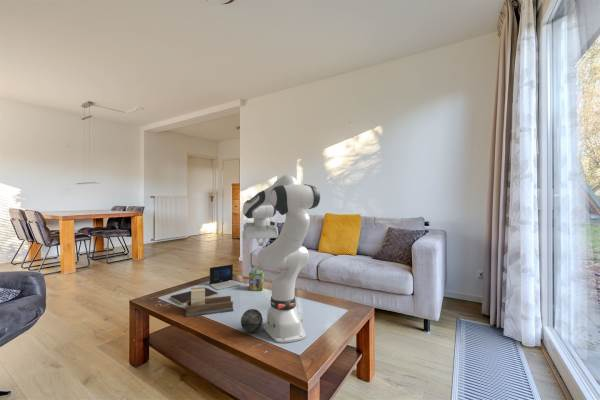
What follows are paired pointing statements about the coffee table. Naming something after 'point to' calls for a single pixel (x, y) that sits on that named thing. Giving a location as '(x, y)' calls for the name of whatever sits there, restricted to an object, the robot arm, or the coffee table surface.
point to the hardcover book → (186, 296)
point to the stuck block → (197, 296)
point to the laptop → (222, 277)
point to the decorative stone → (251, 320)
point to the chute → (210, 306)
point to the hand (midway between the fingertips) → (260, 245)
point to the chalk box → (256, 280)
